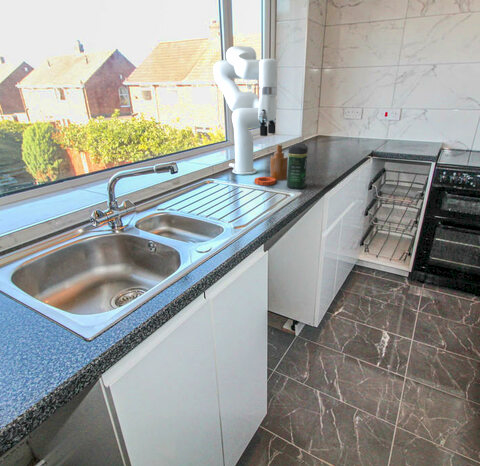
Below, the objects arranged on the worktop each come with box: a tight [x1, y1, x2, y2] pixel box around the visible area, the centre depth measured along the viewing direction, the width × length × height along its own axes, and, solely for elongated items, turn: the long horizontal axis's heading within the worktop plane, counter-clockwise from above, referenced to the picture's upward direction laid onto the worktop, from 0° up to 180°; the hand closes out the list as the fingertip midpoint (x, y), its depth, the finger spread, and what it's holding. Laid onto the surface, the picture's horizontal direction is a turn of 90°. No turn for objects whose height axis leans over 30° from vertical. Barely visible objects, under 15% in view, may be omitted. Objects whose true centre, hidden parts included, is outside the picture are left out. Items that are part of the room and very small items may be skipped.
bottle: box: [269, 144, 288, 181], centre depth 158 cm, size 8×8×16 cm
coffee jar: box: [286, 143, 309, 190], centre depth 144 cm, size 10×8×19 cm
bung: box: [254, 176, 277, 186], centre depth 153 cm, size 10×10×2 cm
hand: (267, 134), depth 144 cm, fingers open, 9 cm apart
